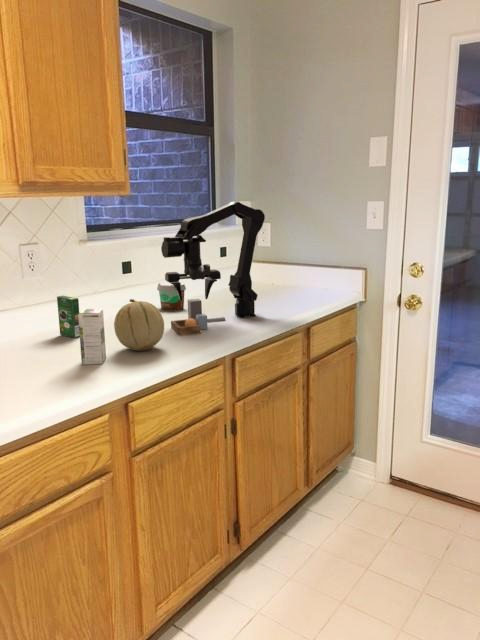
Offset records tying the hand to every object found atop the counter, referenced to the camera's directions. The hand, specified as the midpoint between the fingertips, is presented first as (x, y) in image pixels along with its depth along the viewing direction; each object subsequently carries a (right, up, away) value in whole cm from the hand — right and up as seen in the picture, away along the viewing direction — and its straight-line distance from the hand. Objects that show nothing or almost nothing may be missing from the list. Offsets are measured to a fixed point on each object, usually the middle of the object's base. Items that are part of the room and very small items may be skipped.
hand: (193, 300), depth 188 cm
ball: (0, -8, -8) cm, 12 cm away
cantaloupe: (-13, -16, -29) cm, 36 cm away
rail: (+4, -8, +3) cm, 9 cm away
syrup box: (-24, -19, -40) cm, 50 cm away
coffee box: (-39, -13, -12) cm, 43 cm away
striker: (+2, -9, -2) cm, 9 cm away
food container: (-12, -3, +26) cm, 29 cm away
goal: (-2, -11, -8) cm, 14 cm away
